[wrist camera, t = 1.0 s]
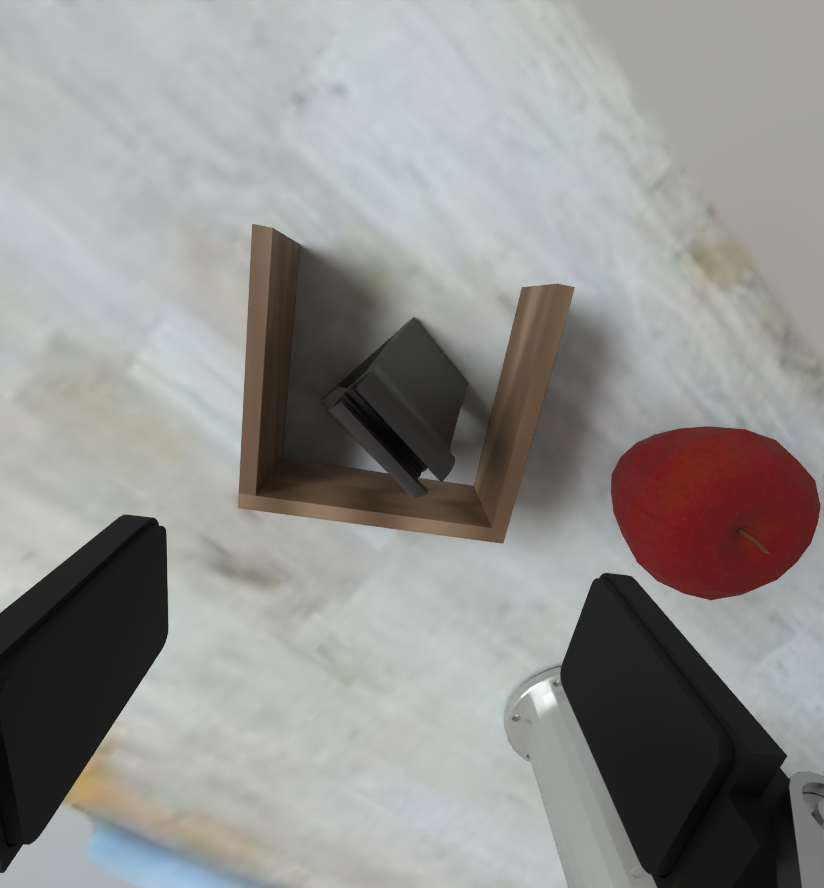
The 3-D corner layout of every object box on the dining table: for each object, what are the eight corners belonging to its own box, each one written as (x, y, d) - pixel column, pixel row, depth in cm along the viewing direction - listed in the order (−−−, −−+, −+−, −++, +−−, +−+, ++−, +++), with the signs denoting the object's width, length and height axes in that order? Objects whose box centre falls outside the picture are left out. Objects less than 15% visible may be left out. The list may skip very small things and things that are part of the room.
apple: (637, 553, 36) (746, 664, 25) (552, 481, 33) (630, 570, 22) (742, 459, 34) (914, 537, 22) (659, 374, 31) (805, 414, 20)
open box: (536, 290, 29) (574, 287, 23) (483, 499, 34) (503, 543, 28) (284, 241, 27) (252, 224, 21) (267, 468, 32) (238, 507, 26)
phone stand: (414, 316, 29) (427, 326, 18) (467, 382, 31) (510, 429, 19) (319, 399, 31) (276, 457, 19) (374, 457, 32) (364, 542, 21)
